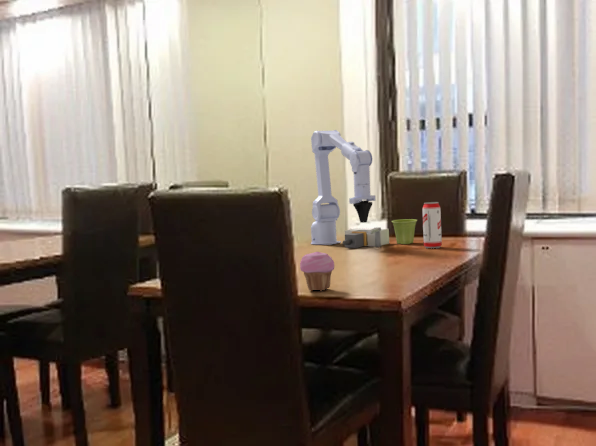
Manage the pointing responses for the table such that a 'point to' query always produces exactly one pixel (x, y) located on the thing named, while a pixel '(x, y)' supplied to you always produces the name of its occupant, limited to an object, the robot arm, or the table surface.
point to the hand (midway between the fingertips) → (363, 222)
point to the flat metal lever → (374, 230)
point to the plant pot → (404, 230)
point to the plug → (355, 239)
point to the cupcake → (317, 270)
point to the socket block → (374, 236)
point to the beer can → (432, 225)
